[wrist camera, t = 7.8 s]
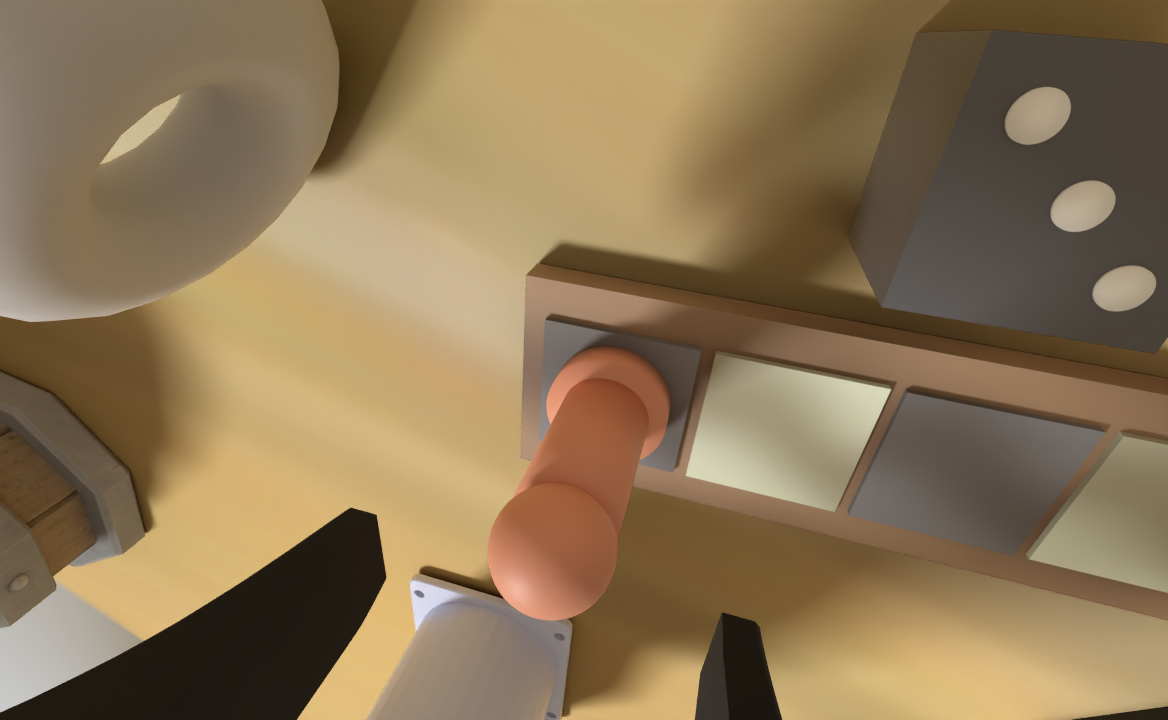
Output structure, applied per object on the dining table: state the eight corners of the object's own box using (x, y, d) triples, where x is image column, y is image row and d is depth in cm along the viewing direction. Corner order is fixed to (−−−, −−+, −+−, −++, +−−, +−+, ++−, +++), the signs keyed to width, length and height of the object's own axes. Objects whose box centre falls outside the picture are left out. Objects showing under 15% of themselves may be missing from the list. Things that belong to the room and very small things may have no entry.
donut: (311, -117, 13) (-448, -388, 5) (424, -11, 14) (-85, -91, 5) (209, 194, 18) (-235, 321, 10) (294, 262, 19) (-63, 436, 11)
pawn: (660, 455, 17) (611, 682, 11) (553, 430, 18) (450, 631, 12) (680, 360, 16) (633, 570, 9) (560, 335, 16) (442, 517, 10)
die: (1044, 265, 13) (1162, 356, 9) (846, 235, 14) (881, 308, 10) (1161, 53, 11) (1380, 61, 7) (915, 32, 12) (994, 29, 8)
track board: (1185, 600, 17) (1213, 636, 16) (529, 441, 20) (518, 461, 19) (1381, 417, 13) (1433, 449, 12) (537, 263, 17) (524, 277, 16)
